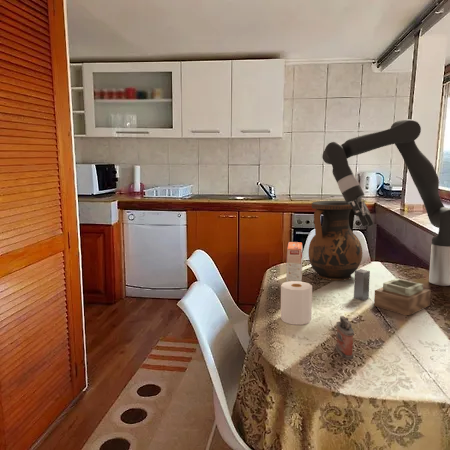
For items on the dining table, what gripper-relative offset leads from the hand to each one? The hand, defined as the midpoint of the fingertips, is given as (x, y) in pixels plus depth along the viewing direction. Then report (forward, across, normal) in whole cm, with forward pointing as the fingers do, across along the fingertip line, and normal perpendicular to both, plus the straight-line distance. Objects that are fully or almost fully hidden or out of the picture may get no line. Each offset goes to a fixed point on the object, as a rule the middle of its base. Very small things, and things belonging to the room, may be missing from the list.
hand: (368, 225), depth 156 cm
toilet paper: (+22, -32, +29) cm, 49 cm away
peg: (+24, +1, +15) cm, 29 cm away
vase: (+12, +26, +30) cm, 42 cm away
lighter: (+34, -48, +12) cm, 60 cm away
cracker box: (+14, -10, +37) cm, 40 cm away
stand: (+32, 0, +2) cm, 32 cm away
